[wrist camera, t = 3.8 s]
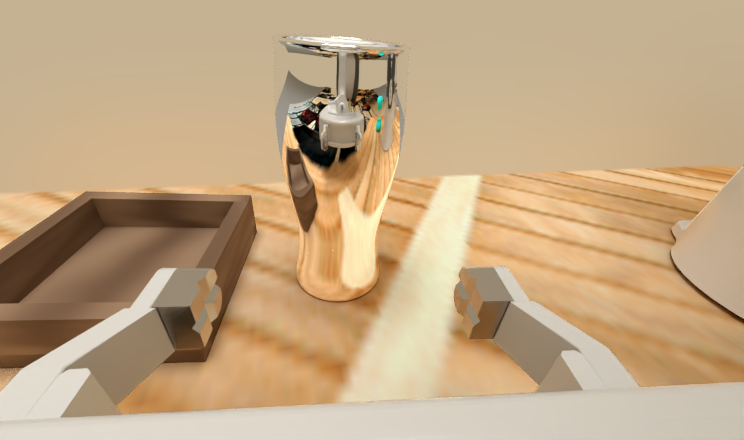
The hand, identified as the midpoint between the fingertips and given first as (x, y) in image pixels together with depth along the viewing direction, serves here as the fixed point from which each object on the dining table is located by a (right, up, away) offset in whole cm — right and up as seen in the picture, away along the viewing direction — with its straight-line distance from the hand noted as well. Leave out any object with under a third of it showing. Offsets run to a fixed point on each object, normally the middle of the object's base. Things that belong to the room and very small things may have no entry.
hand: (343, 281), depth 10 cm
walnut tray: (-14, -2, +10) cm, 18 cm away
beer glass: (-2, -2, +13) cm, 13 cm away
